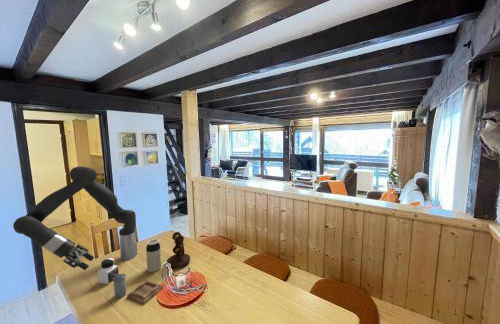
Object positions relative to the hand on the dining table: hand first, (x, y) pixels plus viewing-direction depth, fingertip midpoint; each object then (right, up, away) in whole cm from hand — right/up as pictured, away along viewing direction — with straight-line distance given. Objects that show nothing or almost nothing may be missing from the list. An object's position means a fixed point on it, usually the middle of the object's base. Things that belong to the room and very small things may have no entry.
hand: (90, 263), depth 104 cm
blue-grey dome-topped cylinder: (+12, -19, +5) cm, 23 cm away
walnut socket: (+25, -19, +6) cm, 32 cm away
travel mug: (+19, -17, +28) cm, 38 cm away
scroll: (+33, -16, +34) cm, 50 cm away
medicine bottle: (-2, -18, +17) cm, 25 cm away
